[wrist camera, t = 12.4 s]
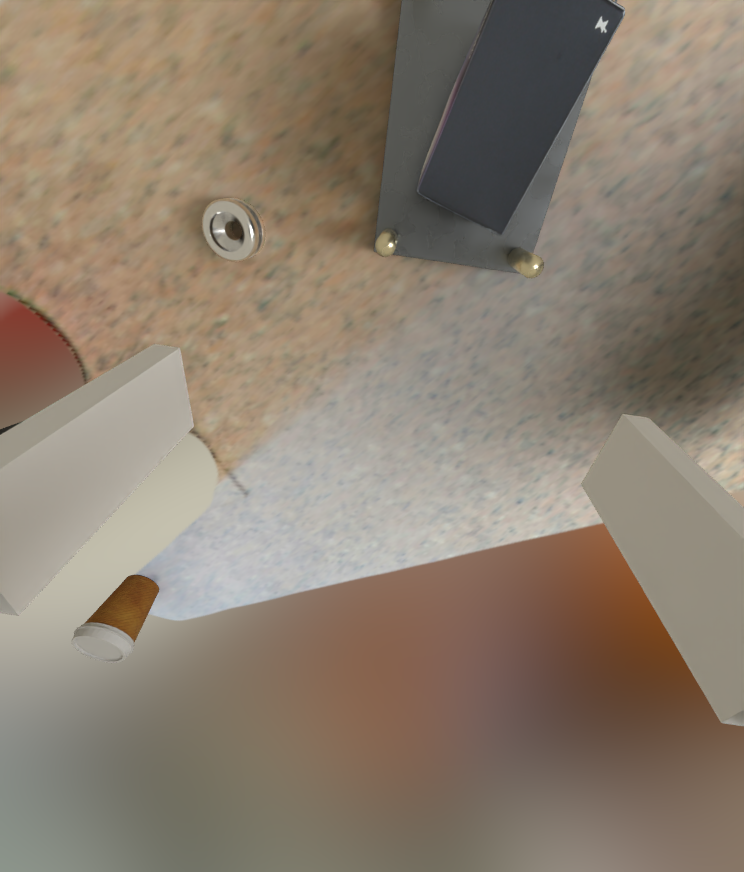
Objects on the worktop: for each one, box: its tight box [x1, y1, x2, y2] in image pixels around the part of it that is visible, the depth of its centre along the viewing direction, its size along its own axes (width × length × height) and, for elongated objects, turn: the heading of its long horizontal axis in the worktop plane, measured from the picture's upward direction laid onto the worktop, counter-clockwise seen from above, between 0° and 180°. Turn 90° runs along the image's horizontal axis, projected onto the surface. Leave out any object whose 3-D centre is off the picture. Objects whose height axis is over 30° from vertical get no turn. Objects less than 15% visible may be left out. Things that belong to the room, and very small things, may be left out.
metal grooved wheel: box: [202, 198, 266, 262], centre depth 33 cm, size 5×3×5 cm
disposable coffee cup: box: [72, 575, 159, 663], centre depth 65 cm, size 10×10×12 cm
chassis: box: [374, 0, 617, 278], centre depth 27 cm, size 14×18×6 cm
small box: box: [417, 0, 625, 235], centre depth 24 cm, size 11×6×10 cm, turn 157°
